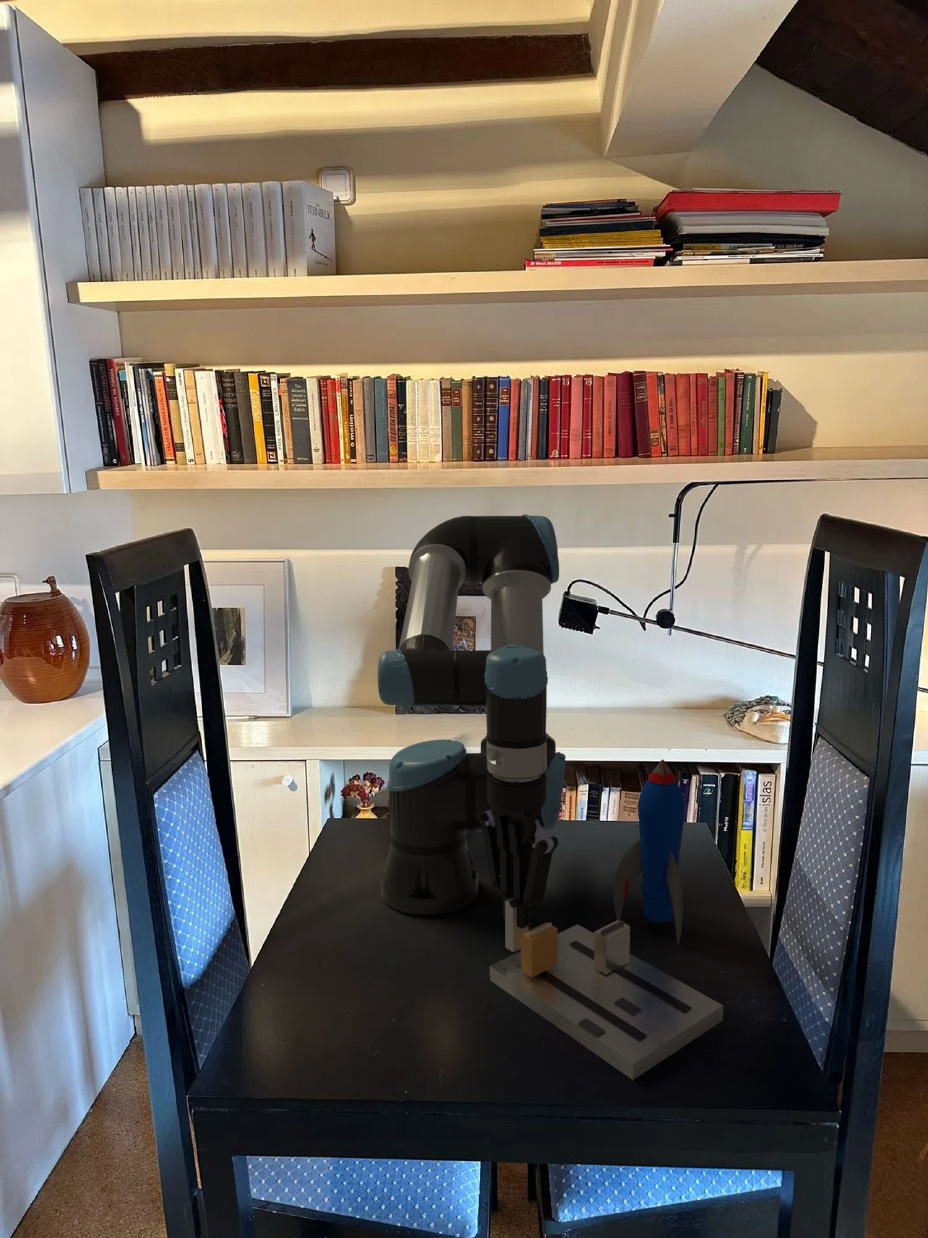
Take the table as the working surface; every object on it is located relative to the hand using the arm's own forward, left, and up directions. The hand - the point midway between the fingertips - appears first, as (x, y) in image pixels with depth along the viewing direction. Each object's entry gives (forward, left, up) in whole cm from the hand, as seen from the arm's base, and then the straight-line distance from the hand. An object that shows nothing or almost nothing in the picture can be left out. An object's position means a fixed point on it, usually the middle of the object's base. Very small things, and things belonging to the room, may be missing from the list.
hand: (517, 946), depth 115 cm
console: (+11, +4, -4) cm, 12 cm away
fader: (+4, 0, -1) cm, 4 cm away
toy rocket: (+3, +22, -4) cm, 23 cm away
